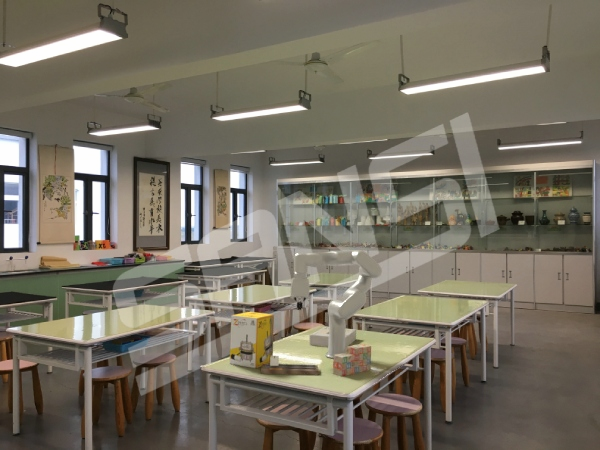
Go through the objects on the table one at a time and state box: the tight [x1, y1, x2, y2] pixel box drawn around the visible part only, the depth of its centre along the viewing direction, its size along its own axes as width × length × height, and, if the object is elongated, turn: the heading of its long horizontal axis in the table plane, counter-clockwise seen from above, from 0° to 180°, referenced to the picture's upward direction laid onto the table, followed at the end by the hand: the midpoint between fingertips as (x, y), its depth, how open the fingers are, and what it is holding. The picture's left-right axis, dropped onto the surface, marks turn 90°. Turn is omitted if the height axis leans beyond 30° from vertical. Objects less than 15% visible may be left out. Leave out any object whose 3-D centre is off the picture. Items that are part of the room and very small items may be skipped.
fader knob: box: [269, 355, 279, 366], centre depth 238 cm, size 4×5×5 cm
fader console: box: [260, 363, 320, 376], centre depth 238 cm, size 28×10×3 cm, turn 92°
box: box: [309, 326, 357, 348], centre depth 311 cm, size 23×8×32 cm
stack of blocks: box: [332, 343, 372, 377], centre depth 242 cm, size 21×6×12 cm, turn 131°
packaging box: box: [229, 311, 275, 369], centre depth 254 cm, size 16×16×25 cm
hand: (299, 309), depth 264 cm, fingers closed
